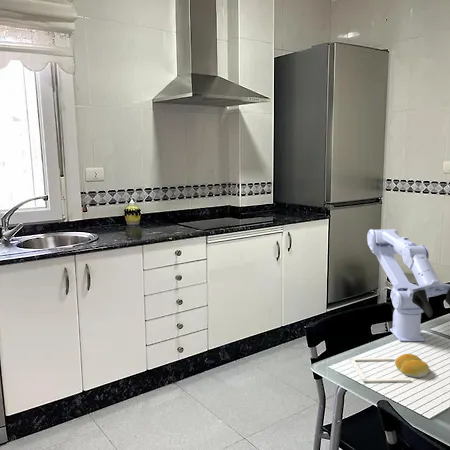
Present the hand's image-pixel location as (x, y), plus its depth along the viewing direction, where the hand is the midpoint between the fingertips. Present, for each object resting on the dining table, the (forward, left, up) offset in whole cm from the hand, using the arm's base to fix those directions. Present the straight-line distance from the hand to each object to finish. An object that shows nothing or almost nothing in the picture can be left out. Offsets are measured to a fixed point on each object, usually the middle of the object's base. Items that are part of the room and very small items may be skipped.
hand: (444, 314), depth 126 cm
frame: (+2, -18, -16) cm, 24 cm away
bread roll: (+1, -9, -16) cm, 18 cm away
